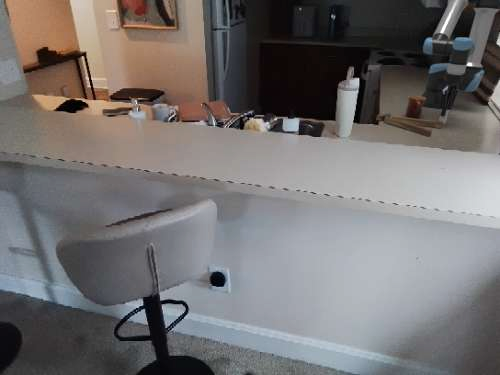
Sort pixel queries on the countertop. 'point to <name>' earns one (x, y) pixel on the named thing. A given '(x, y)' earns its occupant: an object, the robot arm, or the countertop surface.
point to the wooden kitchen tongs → (403, 124)
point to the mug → (415, 106)
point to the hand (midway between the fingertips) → (442, 122)
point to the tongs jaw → (420, 121)
